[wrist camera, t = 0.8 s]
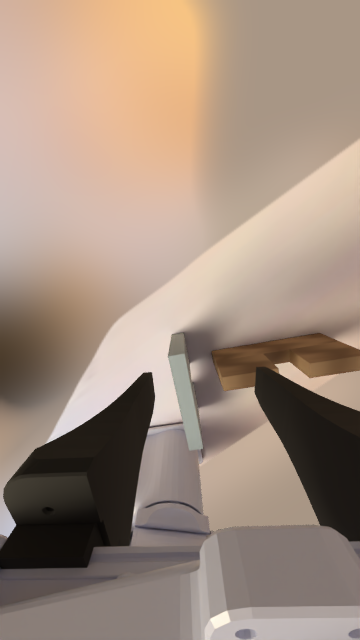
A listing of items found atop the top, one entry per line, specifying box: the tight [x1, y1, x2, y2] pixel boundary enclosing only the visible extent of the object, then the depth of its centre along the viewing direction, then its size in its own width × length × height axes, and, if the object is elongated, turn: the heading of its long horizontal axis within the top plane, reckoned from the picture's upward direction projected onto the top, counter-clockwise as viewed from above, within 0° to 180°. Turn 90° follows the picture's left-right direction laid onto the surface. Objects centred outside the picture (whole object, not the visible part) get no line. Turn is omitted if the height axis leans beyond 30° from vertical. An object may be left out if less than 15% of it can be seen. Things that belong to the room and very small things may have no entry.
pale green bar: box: [168, 333, 203, 451], centre depth 21 cm, size 2×12×6 cm, turn 10°
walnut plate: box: [212, 333, 360, 391], centre depth 19 cm, size 14×2×6 cm, turn 101°
